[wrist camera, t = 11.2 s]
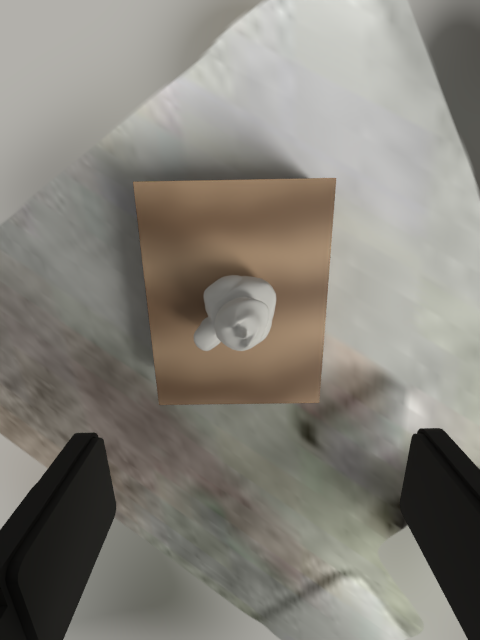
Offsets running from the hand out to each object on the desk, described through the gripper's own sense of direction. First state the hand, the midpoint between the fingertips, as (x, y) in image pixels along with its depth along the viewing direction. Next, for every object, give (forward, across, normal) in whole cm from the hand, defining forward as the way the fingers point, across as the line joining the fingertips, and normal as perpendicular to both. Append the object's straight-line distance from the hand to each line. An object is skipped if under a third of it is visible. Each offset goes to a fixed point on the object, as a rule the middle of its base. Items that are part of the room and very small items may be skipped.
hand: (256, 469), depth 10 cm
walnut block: (+22, +1, 0) cm, 22 cm away
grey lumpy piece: (+16, +1, 0) cm, 17 cm away
